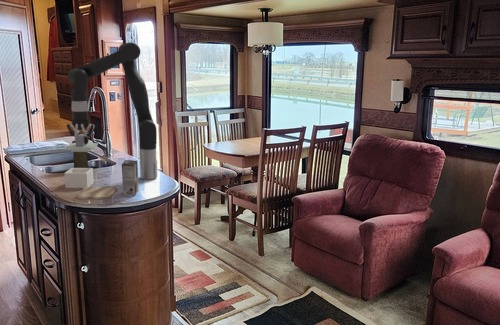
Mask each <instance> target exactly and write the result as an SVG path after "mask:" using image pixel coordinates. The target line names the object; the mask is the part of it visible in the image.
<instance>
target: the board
mask: <svg viewBox="0 0 500 325" xmlns="http://www.w3.org/2000/svg"><path fill="white" fill-rule="evenodd" d="M117 190H118V187H102V186H101V187H98V186H97V187H94V186H93V187H91V186H89V187H85V188H82V189H81V190H80V192H79V193H78V194H75V196H74V199H75V200H76V199H78V200H79V199H80V200H82V199H83V200H86V199H87V200H110V199H111V198H112V196H114V194H115V193H116V192H117Z"/></svg>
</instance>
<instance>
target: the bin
mask: <svg viewBox="0 0 500 325" xmlns="http://www.w3.org/2000/svg"><path fill="white" fill-rule="evenodd" d="M94 180H95V179H94V168H93V167H88V168H73V167H71V168H70V169H68V170H67V171H65V172H64V182H65V183H64V184H65V189H84V188H85V187H91V186H92V185H93V184H94V183H95V182H94Z"/></svg>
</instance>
